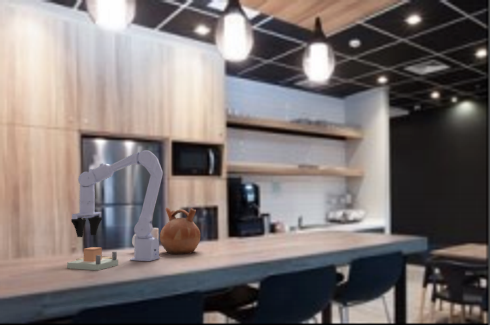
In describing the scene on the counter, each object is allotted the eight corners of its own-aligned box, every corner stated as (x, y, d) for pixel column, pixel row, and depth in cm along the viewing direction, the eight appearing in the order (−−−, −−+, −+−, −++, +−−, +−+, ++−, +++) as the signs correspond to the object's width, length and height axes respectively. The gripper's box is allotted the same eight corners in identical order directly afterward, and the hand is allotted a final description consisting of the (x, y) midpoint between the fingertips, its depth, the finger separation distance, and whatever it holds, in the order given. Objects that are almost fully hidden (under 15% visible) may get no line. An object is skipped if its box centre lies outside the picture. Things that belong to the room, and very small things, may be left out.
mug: (133, 253, 185) (133, 230, 186) (130, 251, 193) (130, 228, 193) (160, 251, 191) (160, 228, 191) (155, 249, 198) (155, 227, 199)
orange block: (101, 259, 157) (101, 247, 157) (93, 261, 152) (93, 249, 153) (91, 259, 158) (91, 247, 158) (83, 261, 154) (83, 248, 154)
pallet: (116, 259, 169) (116, 256, 169) (100, 263, 160) (101, 260, 161) (92, 258, 173) (92, 255, 173) (76, 262, 165) (76, 258, 165)
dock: (118, 264, 158) (118, 251, 158) (98, 270, 147) (98, 256, 148) (88, 263, 163) (88, 250, 163) (67, 268, 152) (67, 254, 153)
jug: (150, 254, 183) (151, 208, 184) (173, 248, 199) (173, 206, 201) (187, 256, 176) (187, 208, 177) (207, 250, 192) (207, 206, 194)
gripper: (91, 201, 177) (91, 233, 176) (65, 202, 163) (65, 237, 163) (105, 201, 174) (105, 234, 174) (80, 202, 161) (79, 238, 160)
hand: (86, 236), depth 168 cm, fingers open, 7 cm apart
